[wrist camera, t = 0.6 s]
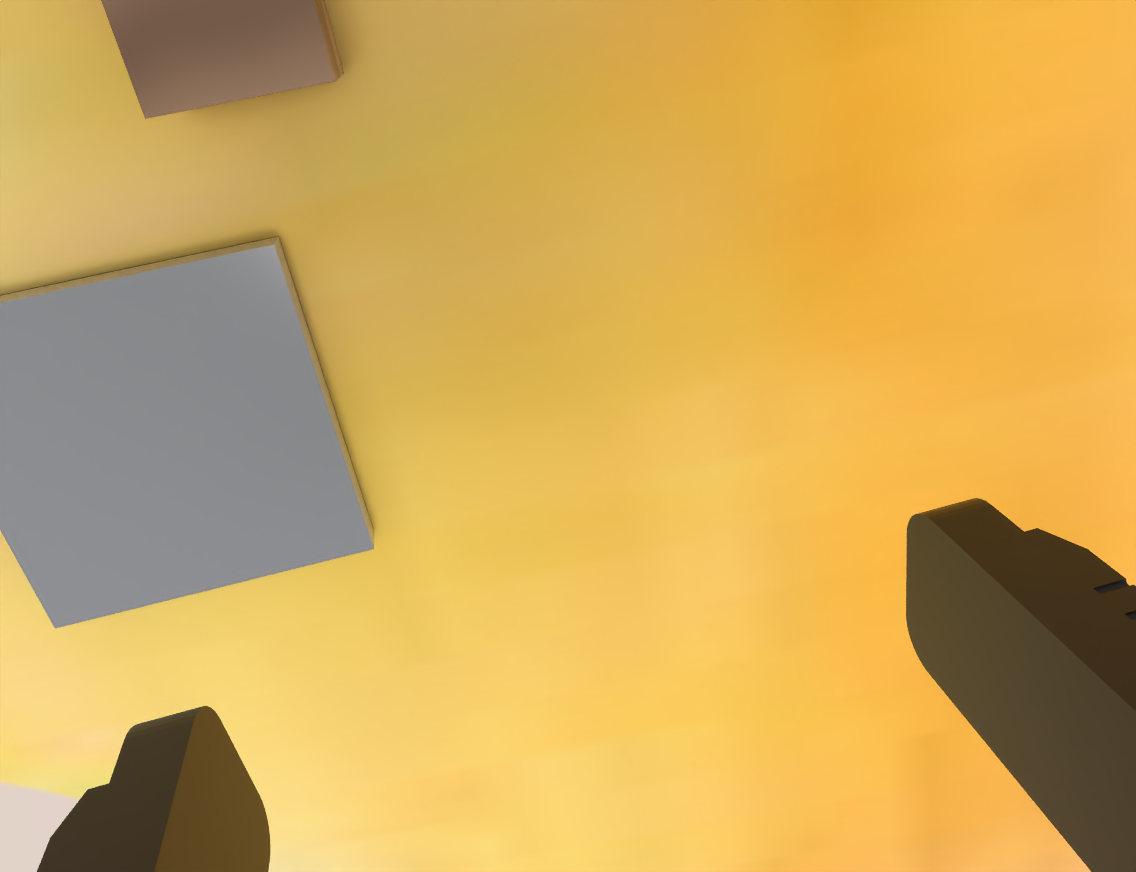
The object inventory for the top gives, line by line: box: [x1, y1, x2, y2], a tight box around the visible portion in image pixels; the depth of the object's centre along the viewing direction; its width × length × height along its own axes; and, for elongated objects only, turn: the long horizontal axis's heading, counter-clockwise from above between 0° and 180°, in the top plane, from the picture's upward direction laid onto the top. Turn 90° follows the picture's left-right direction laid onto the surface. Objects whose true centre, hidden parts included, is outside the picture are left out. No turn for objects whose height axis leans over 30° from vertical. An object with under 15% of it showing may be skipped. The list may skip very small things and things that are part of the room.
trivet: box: [0, 237, 374, 628], centre depth 31 cm, size 12×12×1 cm
